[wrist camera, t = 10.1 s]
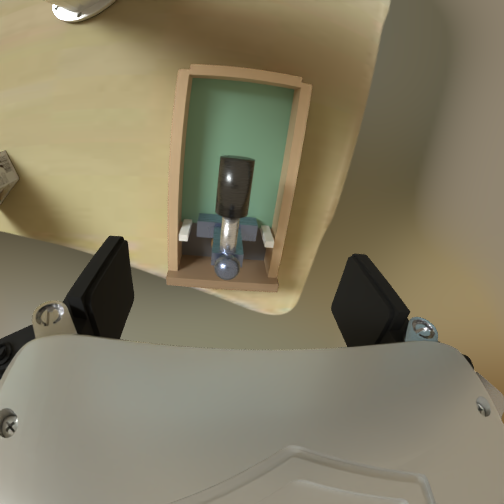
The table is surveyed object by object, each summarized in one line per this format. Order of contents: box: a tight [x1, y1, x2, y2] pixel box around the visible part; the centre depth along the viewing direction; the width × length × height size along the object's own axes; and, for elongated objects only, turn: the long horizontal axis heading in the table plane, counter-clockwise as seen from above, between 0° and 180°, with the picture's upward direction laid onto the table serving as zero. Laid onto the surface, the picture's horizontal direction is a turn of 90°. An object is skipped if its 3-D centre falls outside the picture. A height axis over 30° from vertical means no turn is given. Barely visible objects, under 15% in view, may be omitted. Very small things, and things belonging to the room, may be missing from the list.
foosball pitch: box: [166, 64, 313, 292], centre depth 30 cm, size 26×14×6 cm, turn 172°
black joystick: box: [197, 155, 258, 280], centre depth 27 cm, size 12×7×12 cm, turn 172°
